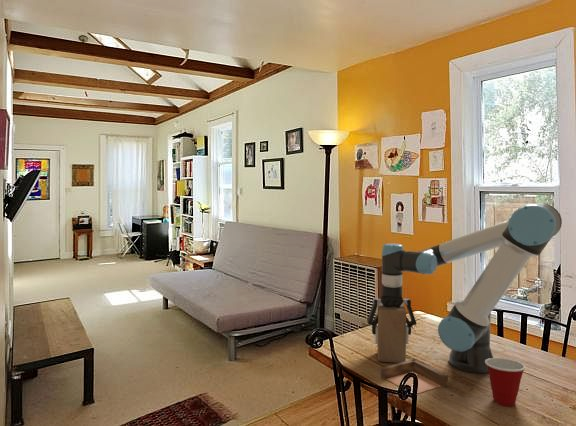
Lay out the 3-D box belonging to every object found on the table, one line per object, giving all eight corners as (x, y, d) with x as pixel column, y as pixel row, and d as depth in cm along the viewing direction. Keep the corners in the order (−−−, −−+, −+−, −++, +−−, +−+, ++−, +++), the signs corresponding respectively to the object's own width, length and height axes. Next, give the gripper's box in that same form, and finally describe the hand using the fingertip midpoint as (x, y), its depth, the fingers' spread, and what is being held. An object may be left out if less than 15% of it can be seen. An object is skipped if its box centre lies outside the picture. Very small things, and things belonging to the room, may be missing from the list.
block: (405, 364, 150) (406, 310, 149) (377, 362, 152) (378, 309, 151) (403, 353, 159) (404, 303, 158) (377, 351, 161) (377, 301, 160)
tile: (413, 372, 144) (413, 371, 144) (440, 386, 133) (440, 385, 133) (387, 379, 138) (387, 378, 138) (413, 395, 127) (413, 394, 127)
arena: (413, 368, 146) (413, 359, 146) (447, 386, 133) (447, 375, 133) (380, 377, 139) (380, 367, 139) (413, 397, 126) (413, 386, 126)
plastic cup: (511, 392, 129) (512, 354, 129) (532, 410, 119) (533, 370, 118) (477, 392, 129) (478, 355, 128) (495, 411, 118) (496, 370, 117)
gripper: (420, 282, 157) (419, 339, 159) (359, 282, 158) (359, 338, 159) (426, 287, 150) (425, 346, 151) (362, 287, 151) (362, 346, 152)
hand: (391, 342), depth 155 cm, fingers closed on block, 11 cm apart
